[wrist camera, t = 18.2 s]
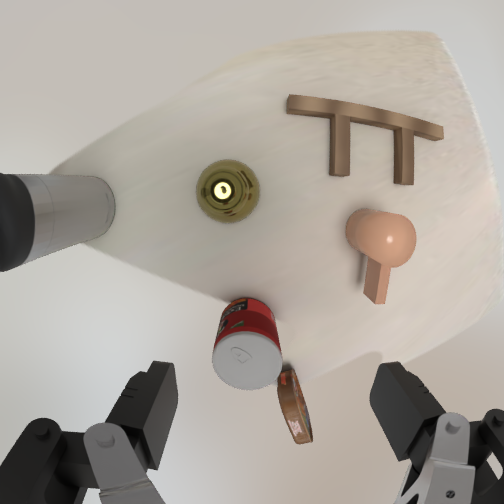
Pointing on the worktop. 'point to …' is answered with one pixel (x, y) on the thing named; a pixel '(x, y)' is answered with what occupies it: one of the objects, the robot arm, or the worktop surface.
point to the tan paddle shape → (380, 246)
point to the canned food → (247, 346)
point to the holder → (357, 113)
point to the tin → (294, 407)
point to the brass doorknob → (227, 191)
